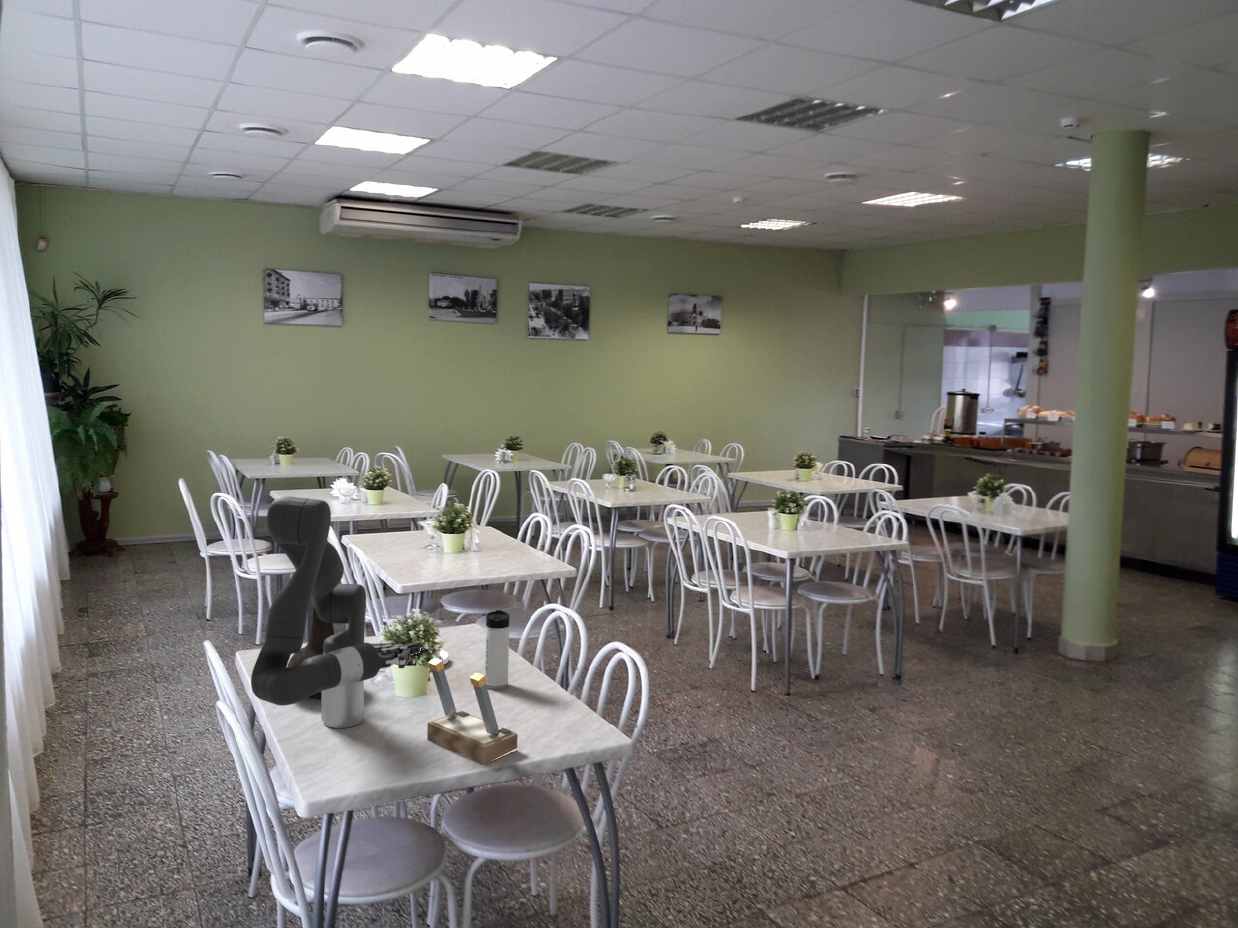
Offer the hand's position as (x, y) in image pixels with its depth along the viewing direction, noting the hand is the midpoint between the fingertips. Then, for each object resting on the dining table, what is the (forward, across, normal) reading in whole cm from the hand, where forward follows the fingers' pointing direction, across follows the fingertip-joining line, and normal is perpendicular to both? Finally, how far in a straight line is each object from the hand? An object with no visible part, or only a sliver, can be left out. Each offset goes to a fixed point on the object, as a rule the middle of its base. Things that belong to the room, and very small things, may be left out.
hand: (418, 646), depth 201 cm
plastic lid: (+38, +45, +24) cm, 64 cm away
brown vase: (+5, +44, +24) cm, 50 cm away
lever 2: (+10, -14, +19) cm, 25 cm away
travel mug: (+40, +17, +24) cm, 50 cm away
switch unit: (+10, -7, +24) cm, 26 cm away
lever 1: (+10, 0, +19) cm, 21 cm away
